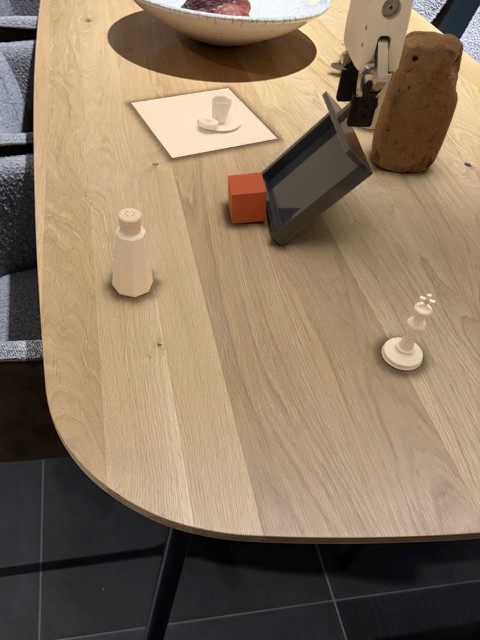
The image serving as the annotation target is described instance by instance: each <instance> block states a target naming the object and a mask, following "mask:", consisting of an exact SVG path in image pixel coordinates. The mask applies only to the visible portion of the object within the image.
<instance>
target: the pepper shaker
mask: <svg viewBox="0 0 480 640" xmlns="http://www.w3.org/2000/svg"><path fill="white" fill-rule="evenodd" d="M117 218H118V227H117V228H116V231H115V233H114V244H113V245H114V246H113V259H112V278H111V285H112V286H113V288H114V289H115V290H116V292H117V293H118V294H119V295H121V296H126V297H131V298H136V297H139V296H142V295H144V294H148V293H149V292H150V290H151V288H152V286H153V283H154V278H153V270H152V264H151V257H150V250H149V243H148V236H147V230H145V228H144V227H143V226H142V219H143V214H142V212H141V211H140V210H139V209H137V208H133V207H126V208H123V209H121V210H120V211H119V212H118V214H117Z"/></svg>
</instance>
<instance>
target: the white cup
mask: <svg viewBox="0 0 480 640" xmlns="http://www.w3.org/2000/svg"><path fill="white" fill-rule="evenodd" d="M365 67H366V69H374V64H369V63H366V66H365ZM391 75H392V73H390V72H389V71H388V80H387V83H386V84H385V85H384V87H383V89H382V90H381V94H380V97H379V98H378V107H377V108H376V110H375V113H374V117H373V121H372V125H371V126H370V127H361V128H362V129H366V130H375V126H376V122H377V119H378V116H379V113H380V109H381V106H382V103H383V100H384V97H385V94H386V90H387V87H388V84H389V81H390V78H391ZM372 77H373V74H366V75H365V78H366V79H367V81H368V80H372Z"/></svg>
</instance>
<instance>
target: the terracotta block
mask: <svg viewBox="0 0 480 640" xmlns="http://www.w3.org/2000/svg"><path fill="white" fill-rule="evenodd" d="M227 194H228V195H227V196H228V200H227V201H228V208H229V214H230V219H231V224H232V225H236V224H245V223H256V222H257V223H258V222H265V221H266V220H267V206H266V195H267V191H266V188H265V184H264V180H263V176H262V173H261V172H251V173H242V174H232V175H228V176H227Z"/></svg>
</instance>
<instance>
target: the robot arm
mask: <svg viewBox="0 0 480 640" xmlns="http://www.w3.org/2000/svg"><path fill="white" fill-rule="evenodd" d="M413 3H414V0H350V3H349V7H348V11H347V12H348V13H347V16H346V21H345V26H344V32H343V44H344V48H345V50H347V51H346V54H345V57H344V60H343V69H346V70H341V71H340V75H339V80H338V85H337V90H336V94H335V101H336V102H339V103H340V102H342V103H343V102H344V103H349V102H351V104H350V109H349V113H348V117H347V121H346V123H347V126H348V127H353V128H362V127H370V126H371V125H372V121H373V117H374V113H375V110H376V106H377V102H378V98H379V97H380V94H381V90H382V89H383V87H384V85H385V84H386V83H387V80H388V71H389V72H390V73H394V72H396V70H397V69H398V66H399V62H400V58H401V54H402V50H403V46H404V42H405V38H406V35H407V34H408V33H407V32H408V29H409V24H410V20H411V16H412V15H411V14H412V9H413V5H414V4H413ZM366 63H369V64H374V69H366V67H365V66H366ZM366 74H373V77H372V80H368V81H367V82H366V83H365V85H364V81H365V75H366ZM357 80H358V81H357ZM356 81H357V89H356V86H355V84H356Z"/></svg>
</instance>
